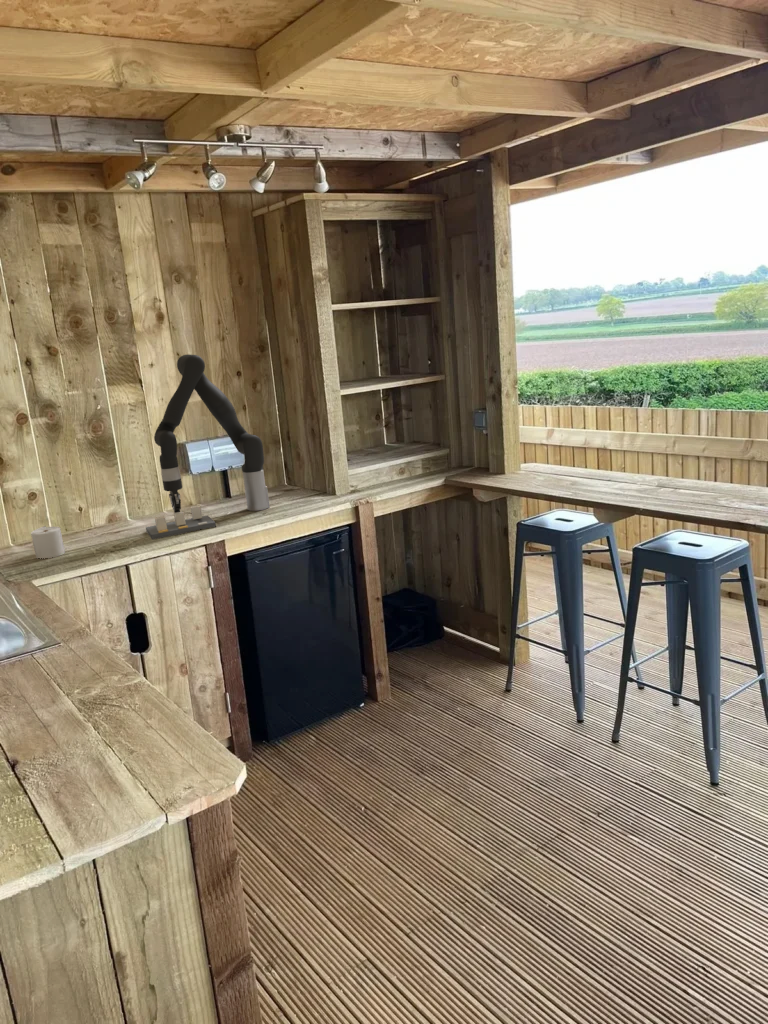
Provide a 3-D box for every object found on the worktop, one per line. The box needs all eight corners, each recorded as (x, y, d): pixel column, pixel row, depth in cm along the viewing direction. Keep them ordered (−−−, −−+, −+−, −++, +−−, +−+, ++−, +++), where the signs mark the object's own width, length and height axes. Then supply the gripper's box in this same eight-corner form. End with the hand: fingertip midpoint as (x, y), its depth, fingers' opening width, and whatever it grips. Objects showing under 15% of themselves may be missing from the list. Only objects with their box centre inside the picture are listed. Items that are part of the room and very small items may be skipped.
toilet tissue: (47, 560, 297) (41, 535, 294) (28, 557, 303) (22, 532, 300) (71, 551, 305) (66, 527, 303) (51, 549, 312) (46, 525, 309)
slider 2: (200, 516, 331) (199, 505, 330) (202, 518, 329) (200, 506, 327) (192, 518, 330) (190, 506, 329) (193, 519, 327) (192, 508, 326)
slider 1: (165, 527, 319) (163, 515, 318) (167, 529, 316) (165, 517, 315) (156, 529, 317) (154, 517, 316) (158, 530, 315) (156, 519, 313)
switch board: (208, 519, 335) (207, 514, 334) (216, 526, 322) (215, 521, 322) (146, 531, 324) (145, 526, 324) (152, 539, 312) (150, 533, 311)
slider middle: (184, 522, 324) (182, 511, 322) (185, 524, 321) (184, 512, 320) (175, 524, 322) (173, 512, 321) (177, 526, 320) (175, 514, 318)
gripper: (183, 479, 316) (190, 520, 320) (177, 474, 328) (184, 513, 332) (165, 482, 313) (171, 523, 317) (159, 477, 325) (166, 517, 329)
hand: (178, 518), depth 325 cm, fingers closed
